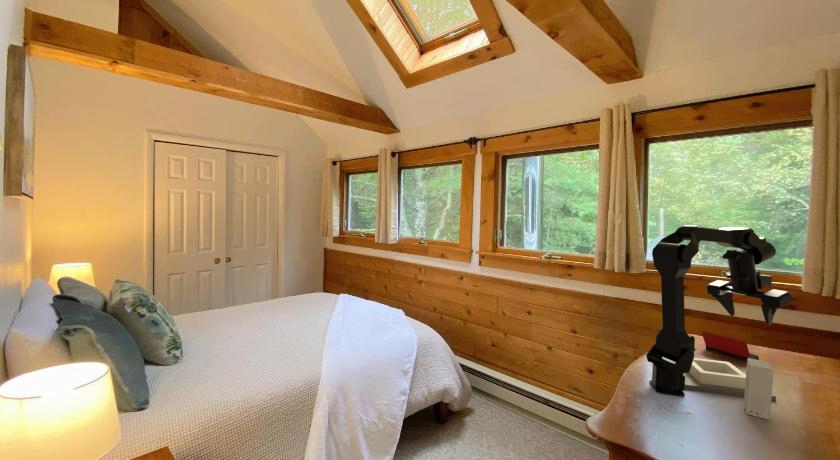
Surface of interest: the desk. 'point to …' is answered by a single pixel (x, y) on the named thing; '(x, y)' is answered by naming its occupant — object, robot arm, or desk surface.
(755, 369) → the skincare box
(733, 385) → the socket board
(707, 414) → the desk surface
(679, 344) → the robot arm
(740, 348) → the handheld game console
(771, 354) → the desk surface
